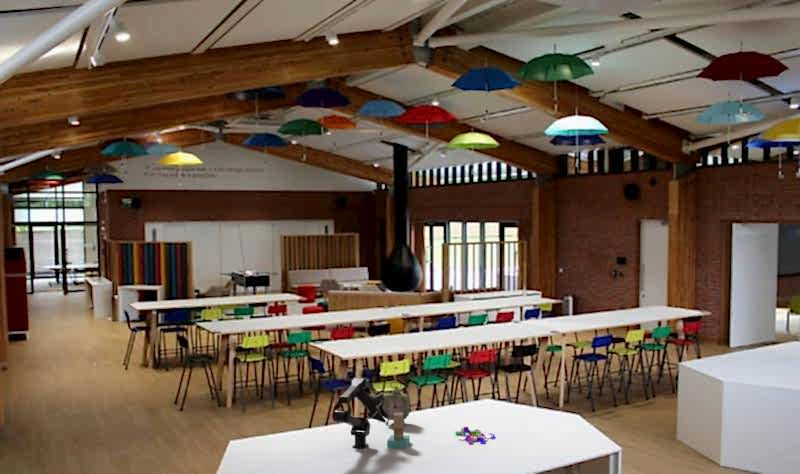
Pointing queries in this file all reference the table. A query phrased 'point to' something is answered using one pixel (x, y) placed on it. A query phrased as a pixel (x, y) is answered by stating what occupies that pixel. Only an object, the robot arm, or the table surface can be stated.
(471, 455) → the table surface
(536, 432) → the table surface
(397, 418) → the walnut pillar
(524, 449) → the table surface
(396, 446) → the teal base block
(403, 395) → the tabletop clock
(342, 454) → the table surface
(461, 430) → the building block set
